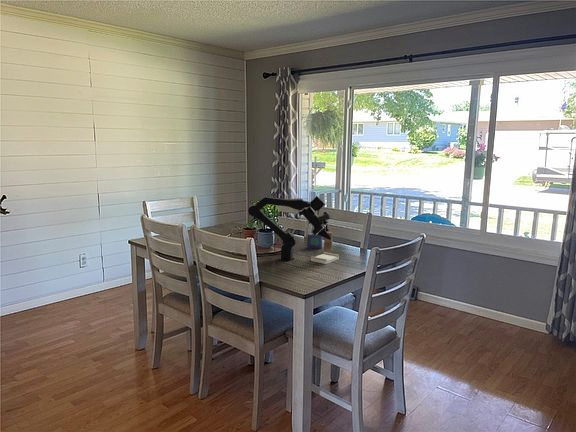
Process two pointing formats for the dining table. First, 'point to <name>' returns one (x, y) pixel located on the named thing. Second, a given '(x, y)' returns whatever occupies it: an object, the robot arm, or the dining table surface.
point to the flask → (314, 241)
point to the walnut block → (328, 242)
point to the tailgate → (325, 258)
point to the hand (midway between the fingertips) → (331, 238)
